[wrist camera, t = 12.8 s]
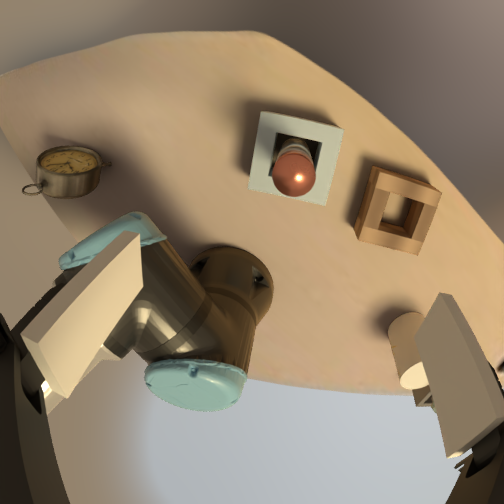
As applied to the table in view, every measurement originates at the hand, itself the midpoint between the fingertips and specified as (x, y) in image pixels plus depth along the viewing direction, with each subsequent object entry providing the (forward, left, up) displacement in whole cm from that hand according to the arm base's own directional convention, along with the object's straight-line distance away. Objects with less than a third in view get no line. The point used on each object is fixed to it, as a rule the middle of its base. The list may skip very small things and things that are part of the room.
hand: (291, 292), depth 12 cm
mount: (+16, -3, -31) cm, 35 cm away
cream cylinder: (+29, -25, -31) cm, 49 cm away
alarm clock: (-33, -5, -31) cm, 46 cm away
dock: (0, +1, -31) cm, 31 cm away
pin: (0, +1, -31) cm, 31 cm away
